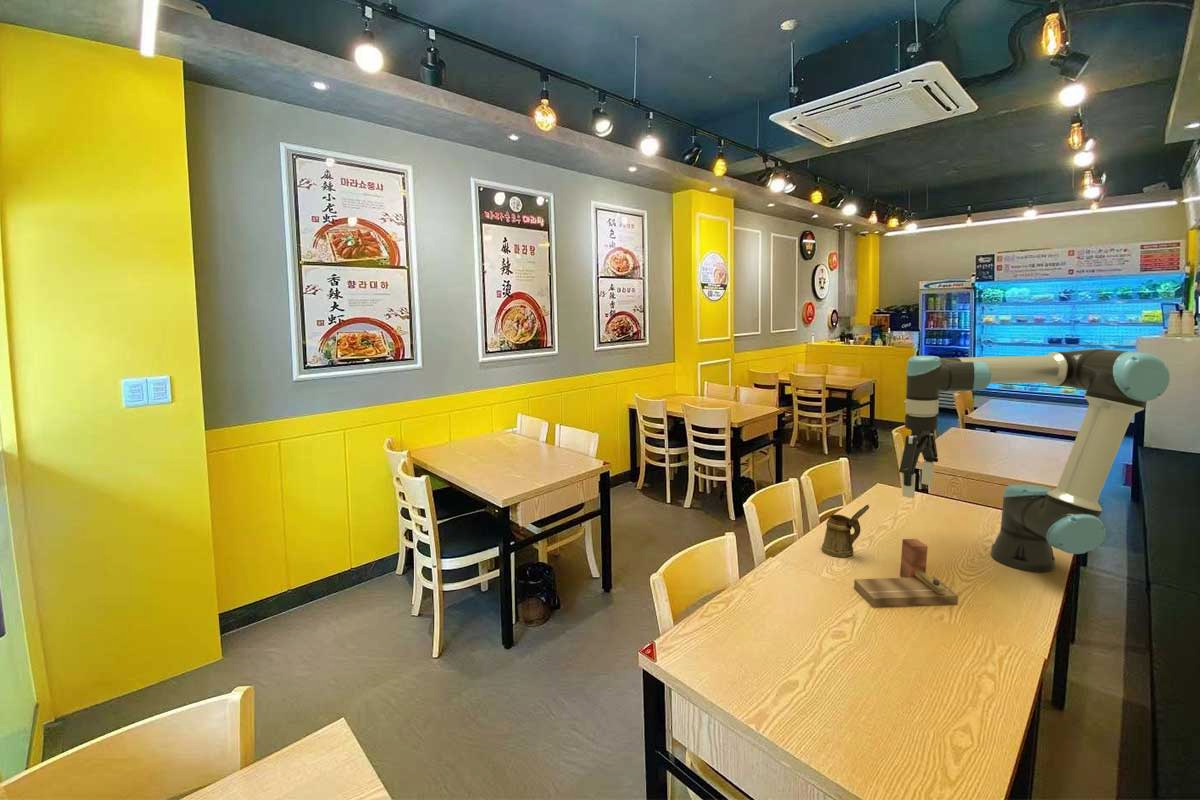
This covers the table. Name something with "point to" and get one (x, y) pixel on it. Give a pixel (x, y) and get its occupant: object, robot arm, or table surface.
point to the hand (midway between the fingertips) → (918, 490)
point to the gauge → (917, 564)
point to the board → (902, 592)
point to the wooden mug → (842, 534)
